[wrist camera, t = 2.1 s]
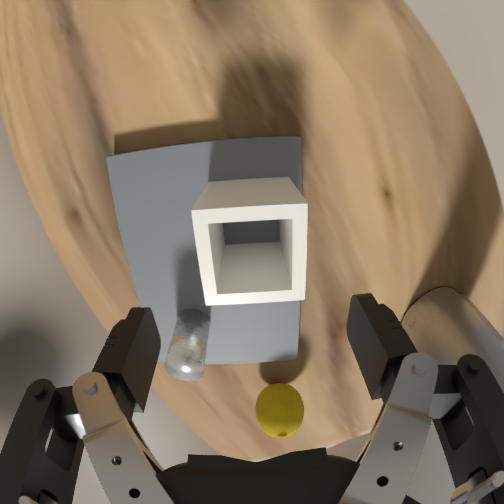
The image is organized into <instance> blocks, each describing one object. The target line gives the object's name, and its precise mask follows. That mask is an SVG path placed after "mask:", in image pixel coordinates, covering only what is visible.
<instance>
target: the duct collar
mask: <svg viewBox="0 0 504 504" xmlns="http://www.w3.org/2000/svg"><path fill="white" fill-rule="evenodd" d="M191 213H192V221H193V228H194V235H195V242H196V249H197V255H198V262H199V268H200V274H201V281H202V287H203V292H204V298H205V304H206V306H208V305H232V304H252V303H268V302H283V301H297V300H305V284H306V258H307V202H306V201H305V199H304V198H303V196H302V195H301V193H300V192H299V191H298V189H297V188H296V186H295V185H294V183H293V182H292V181H291V179H290V178H289V177H275V178H255V179H239V180H225V181H212V182H208V183H207V184H206V186H205V188H204V189H203V191H202V193H201V194H200V196H199V198H198V199H197V201H196V203H195V205H194V206H193V208H192V210H191ZM278 219H279V223H280V242H264V243H247V244H230V245H225V242H224V232H223V223H227V222H243V221H260V220H278Z"/></svg>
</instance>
